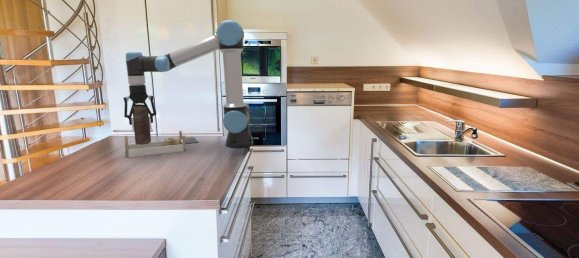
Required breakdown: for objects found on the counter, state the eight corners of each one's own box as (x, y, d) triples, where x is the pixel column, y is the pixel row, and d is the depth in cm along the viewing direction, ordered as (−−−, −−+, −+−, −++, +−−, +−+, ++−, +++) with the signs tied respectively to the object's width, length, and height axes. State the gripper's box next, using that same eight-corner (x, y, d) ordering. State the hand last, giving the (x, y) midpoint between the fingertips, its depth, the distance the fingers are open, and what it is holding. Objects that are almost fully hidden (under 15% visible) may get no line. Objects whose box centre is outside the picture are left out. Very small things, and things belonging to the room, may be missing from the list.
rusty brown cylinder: (146, 141, 172) (142, 103, 168) (154, 143, 168) (150, 104, 164) (132, 144, 166) (127, 105, 162) (140, 146, 162) (136, 106, 158)
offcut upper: (176, 142, 178) (175, 137, 177) (179, 145, 172) (179, 139, 172) (164, 143, 175) (164, 138, 174) (167, 146, 169) (167, 141, 168)
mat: (194, 137, 200) (193, 136, 200) (198, 142, 187) (198, 142, 187) (169, 139, 194) (169, 139, 194) (172, 145, 181) (172, 144, 181)
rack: (182, 145, 182) (181, 130, 180) (186, 150, 171) (185, 135, 169) (126, 150, 170) (124, 135, 169) (126, 157, 159) (124, 141, 157)
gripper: (158, 83, 168) (162, 126, 173) (114, 85, 160) (120, 130, 165) (159, 84, 162) (164, 129, 166) (113, 86, 153) (119, 133, 158)
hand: (142, 130), depth 166 cm, fingers closed on rusty brown cylinder, 7 cm apart
